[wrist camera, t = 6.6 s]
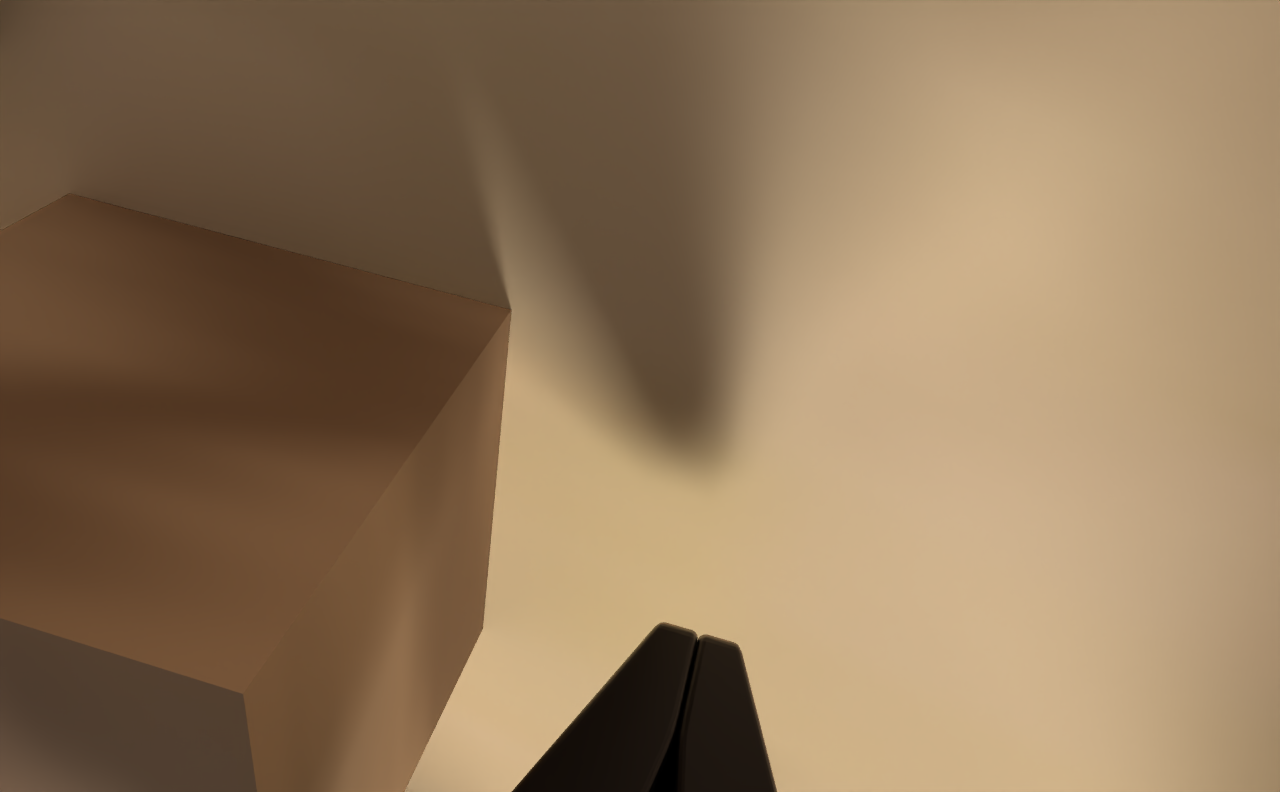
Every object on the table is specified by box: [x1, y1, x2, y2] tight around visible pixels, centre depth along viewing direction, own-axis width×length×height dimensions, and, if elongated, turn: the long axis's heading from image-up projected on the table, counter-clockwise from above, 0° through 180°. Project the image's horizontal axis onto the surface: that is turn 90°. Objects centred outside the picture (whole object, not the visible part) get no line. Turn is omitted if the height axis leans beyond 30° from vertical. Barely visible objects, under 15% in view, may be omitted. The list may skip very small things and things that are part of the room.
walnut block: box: [0, 194, 511, 792], centre depth 10 cm, size 5×5×5 cm
